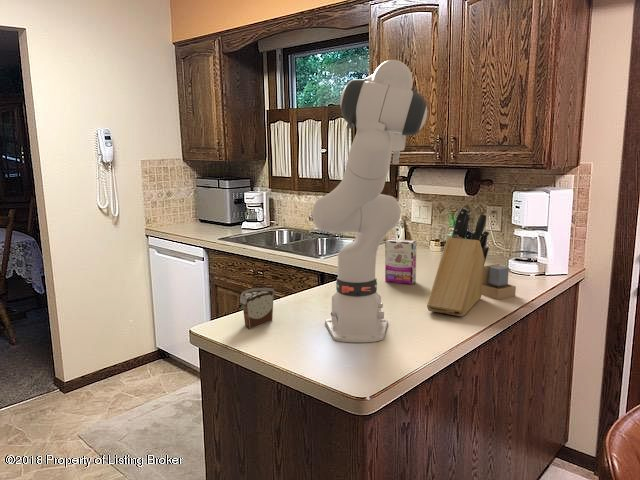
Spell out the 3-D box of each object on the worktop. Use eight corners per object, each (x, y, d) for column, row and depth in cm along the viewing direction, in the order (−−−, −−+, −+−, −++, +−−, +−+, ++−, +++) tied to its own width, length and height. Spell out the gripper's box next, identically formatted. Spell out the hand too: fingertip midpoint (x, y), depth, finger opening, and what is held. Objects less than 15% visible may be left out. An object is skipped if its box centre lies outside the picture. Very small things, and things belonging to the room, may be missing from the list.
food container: (261, 315, 167) (260, 285, 166) (275, 319, 164) (274, 288, 162) (232, 326, 158) (230, 294, 156) (246, 330, 154) (245, 297, 152)
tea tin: (507, 295, 186) (508, 267, 184) (497, 297, 184) (499, 269, 182) (497, 292, 190) (498, 265, 188) (487, 294, 188) (489, 266, 186)
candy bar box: (416, 282, 205) (417, 240, 202) (412, 285, 201) (413, 242, 198) (389, 278, 210) (389, 238, 207) (384, 281, 206) (385, 240, 203)
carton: (515, 295, 185) (516, 268, 183) (497, 299, 181) (499, 271, 180) (496, 290, 193) (498, 263, 191) (479, 293, 189) (481, 266, 187)
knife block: (489, 292, 190) (493, 206, 185) (461, 320, 161) (465, 219, 155) (458, 288, 196) (461, 205, 191) (425, 314, 166) (428, 217, 161)
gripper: (390, 123, 169) (390, 166, 172) (409, 124, 187) (408, 163, 190) (372, 123, 172) (372, 166, 175) (392, 124, 190) (391, 163, 193)
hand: (391, 164), depth 183 cm, fingers open, 8 cm apart
